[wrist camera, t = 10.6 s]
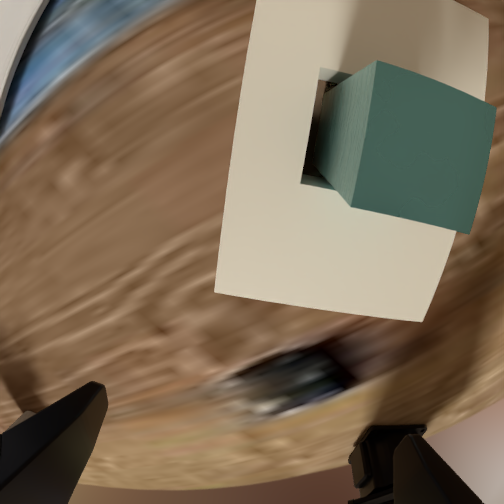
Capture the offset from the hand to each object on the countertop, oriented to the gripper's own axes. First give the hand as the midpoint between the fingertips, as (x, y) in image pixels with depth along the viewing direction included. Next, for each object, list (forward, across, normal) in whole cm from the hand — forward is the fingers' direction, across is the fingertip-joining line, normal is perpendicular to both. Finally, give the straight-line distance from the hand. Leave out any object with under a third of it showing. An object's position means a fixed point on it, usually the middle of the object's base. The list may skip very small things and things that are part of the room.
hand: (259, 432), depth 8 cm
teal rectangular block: (+13, -3, -8) cm, 15 cm away
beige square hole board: (+13, -3, -8) cm, 15 cm away
